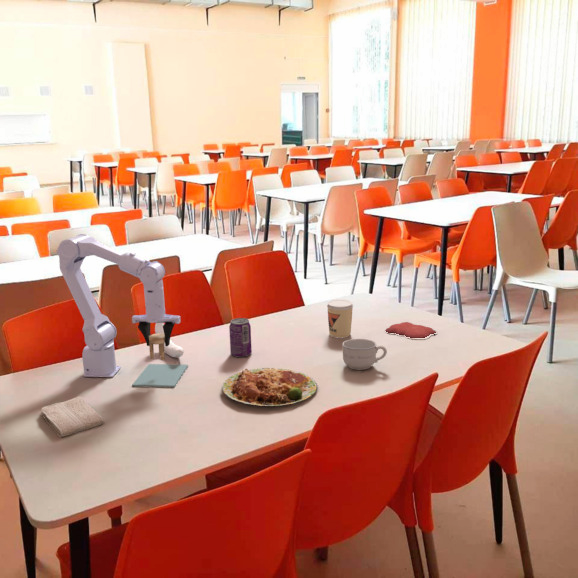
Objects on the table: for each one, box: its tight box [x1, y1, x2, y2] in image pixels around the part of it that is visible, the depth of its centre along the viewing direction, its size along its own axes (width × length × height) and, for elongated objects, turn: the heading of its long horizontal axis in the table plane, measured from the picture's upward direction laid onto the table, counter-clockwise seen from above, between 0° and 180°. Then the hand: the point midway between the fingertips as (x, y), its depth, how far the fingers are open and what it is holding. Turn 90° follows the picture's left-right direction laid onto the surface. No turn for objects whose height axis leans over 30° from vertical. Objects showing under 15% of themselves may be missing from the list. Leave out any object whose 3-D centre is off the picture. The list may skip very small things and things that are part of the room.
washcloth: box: [40, 396, 105, 438], centre depth 166 cm, size 12×18×3 cm, turn 39°
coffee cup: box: [326, 299, 354, 339], centre depth 224 cm, size 9×9×12 cm
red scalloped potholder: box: [384, 321, 437, 338], centre depth 227 cm, size 18×14×2 cm
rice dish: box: [221, 367, 318, 407], centre depth 181 cm, size 28×28×5 cm
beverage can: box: [228, 317, 252, 358], centre depth 207 cm, size 7×7×12 cm
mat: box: [132, 363, 189, 388], centre depth 193 cm, size 13×16×1 cm
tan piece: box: [148, 333, 166, 361], centre depth 190 cm, size 5×5×7 cm
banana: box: [154, 323, 185, 358], centre depth 207 cm, size 5×19×15 cm, turn 38°
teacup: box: [341, 338, 388, 371], centre depth 195 cm, size 14×11×8 cm
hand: (158, 345), depth 190 cm, fingers closed on tan piece, 5 cm apart
